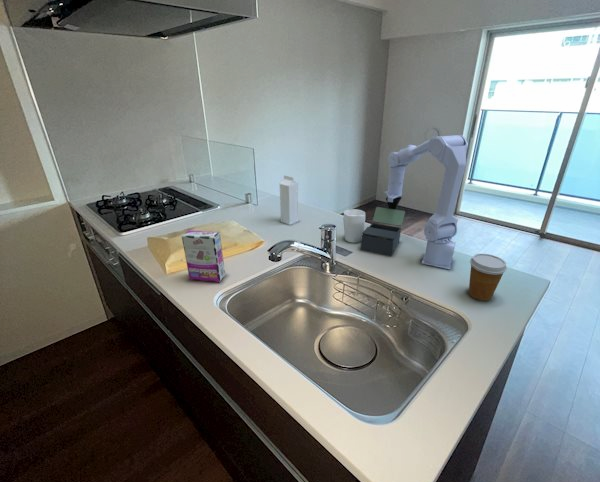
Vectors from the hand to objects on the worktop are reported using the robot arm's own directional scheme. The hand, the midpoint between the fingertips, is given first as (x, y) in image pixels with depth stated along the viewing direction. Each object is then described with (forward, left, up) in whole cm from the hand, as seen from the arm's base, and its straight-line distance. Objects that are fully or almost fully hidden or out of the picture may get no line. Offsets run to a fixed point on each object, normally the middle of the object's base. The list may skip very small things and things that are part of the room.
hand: (392, 213), depth 136 cm
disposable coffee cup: (-36, +34, -10) cm, 50 cm away
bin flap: (0, +4, 0) cm, 4 cm away
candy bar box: (+46, +64, -10) cm, 79 cm away
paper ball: (+1, +10, -7) cm, 13 cm away
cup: (+12, +13, -10) cm, 20 cm away
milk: (+46, +7, -10) cm, 48 cm away
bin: (0, +14, -10) cm, 17 cm away
